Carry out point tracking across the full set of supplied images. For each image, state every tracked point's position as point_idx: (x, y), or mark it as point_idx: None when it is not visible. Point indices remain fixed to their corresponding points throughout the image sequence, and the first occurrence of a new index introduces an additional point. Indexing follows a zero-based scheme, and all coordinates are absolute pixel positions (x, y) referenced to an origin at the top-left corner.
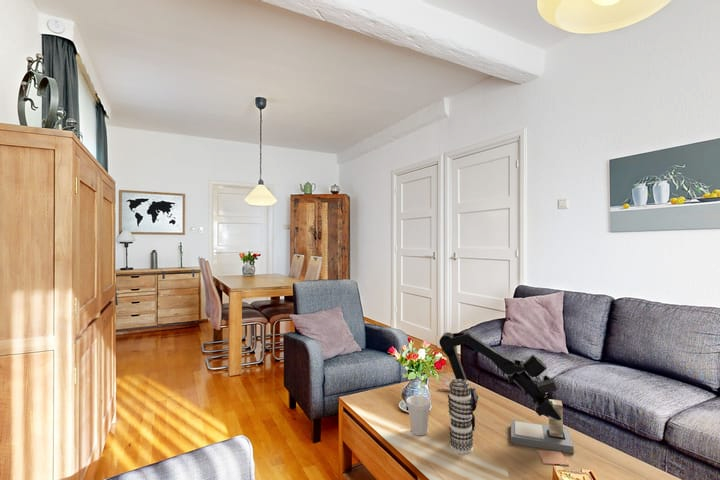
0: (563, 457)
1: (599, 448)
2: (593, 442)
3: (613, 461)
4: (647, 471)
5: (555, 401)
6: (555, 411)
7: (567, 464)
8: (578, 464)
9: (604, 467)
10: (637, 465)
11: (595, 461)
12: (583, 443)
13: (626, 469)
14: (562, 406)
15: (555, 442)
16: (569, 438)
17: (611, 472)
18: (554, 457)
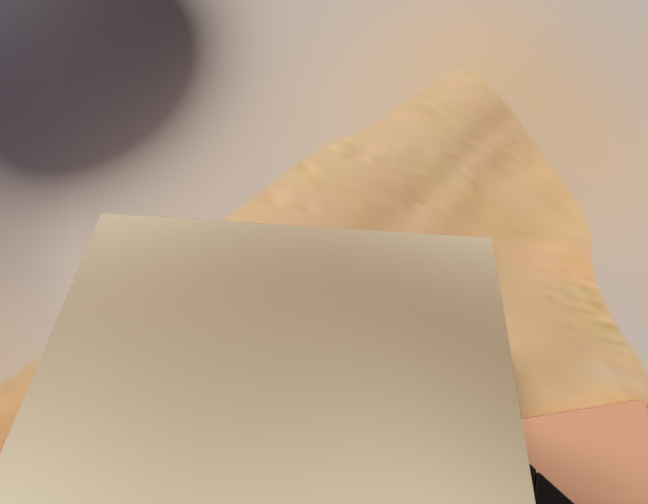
0: (560, 419)
1: (332, 185)
2: (271, 197)
3: (446, 159)
4: (471, 74)
5: (176, 420)
6: (552, 486)
7: (645, 409)
8: (576, 333)
9: (529, 208)
10: (437, 90)
11: (488, 234)
12: None
13: (495, 131)
14: (477, 254)
15: None
16: None
17: (561, 191)
18: (602, 497)
